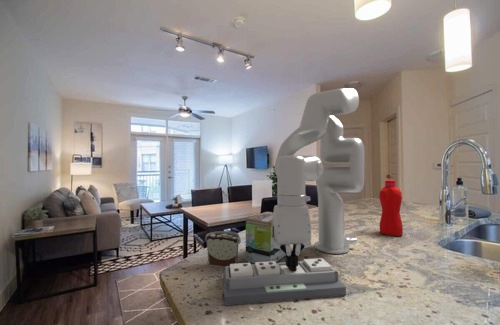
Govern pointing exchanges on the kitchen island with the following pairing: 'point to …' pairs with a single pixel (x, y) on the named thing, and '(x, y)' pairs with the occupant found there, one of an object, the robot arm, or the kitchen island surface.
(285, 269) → the key one dot
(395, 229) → the red plastic bottle
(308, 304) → the kitchen island surface
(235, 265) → the key two dots
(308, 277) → the keypad
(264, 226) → the tea box
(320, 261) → the key three dots
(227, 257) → the food container
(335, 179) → the robot arm
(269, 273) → the key four dots
